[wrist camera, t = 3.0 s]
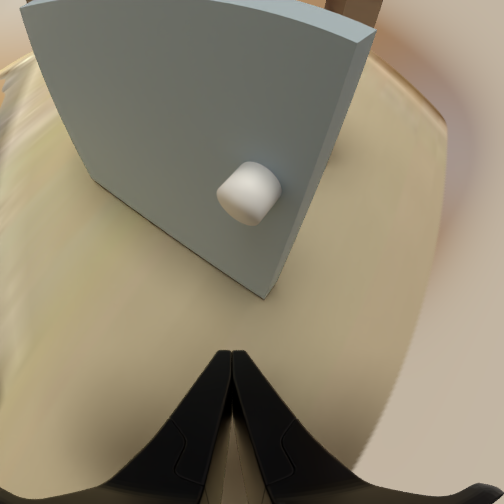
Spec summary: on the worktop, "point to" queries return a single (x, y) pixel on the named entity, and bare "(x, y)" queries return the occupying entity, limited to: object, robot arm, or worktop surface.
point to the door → (204, 113)
